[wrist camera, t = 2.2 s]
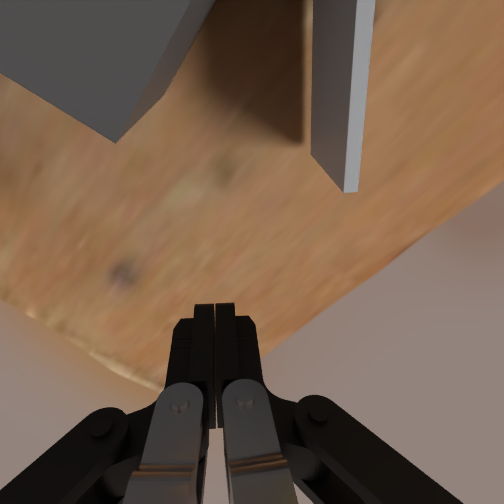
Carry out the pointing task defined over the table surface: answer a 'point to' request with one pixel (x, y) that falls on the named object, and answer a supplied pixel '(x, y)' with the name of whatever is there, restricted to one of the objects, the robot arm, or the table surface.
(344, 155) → the side door
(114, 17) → the block
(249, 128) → the table surface
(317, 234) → the table surface
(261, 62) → the table surface
